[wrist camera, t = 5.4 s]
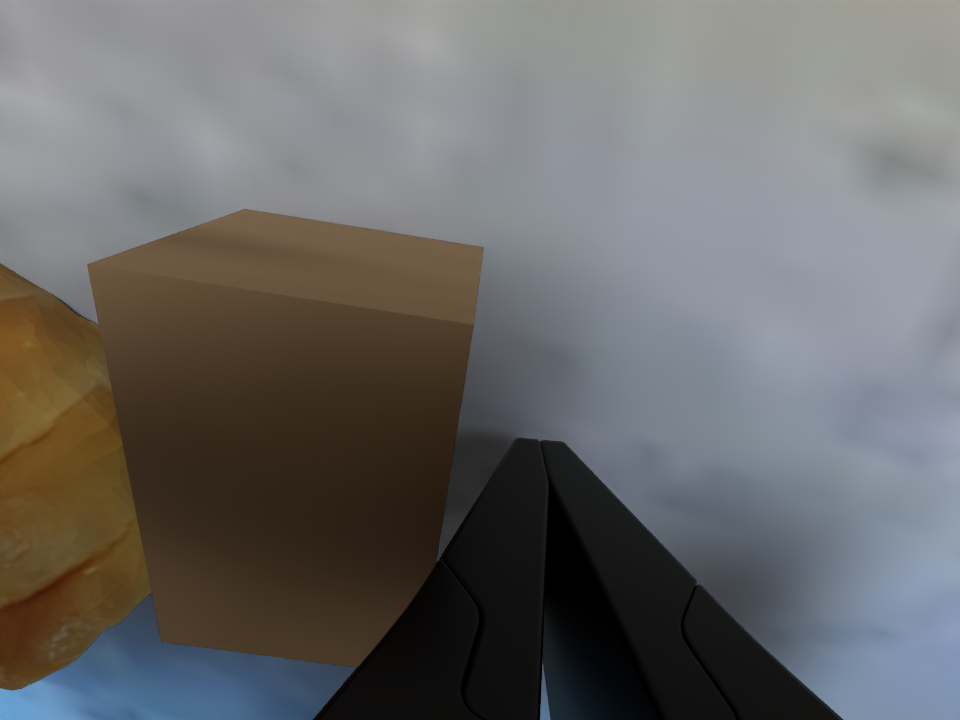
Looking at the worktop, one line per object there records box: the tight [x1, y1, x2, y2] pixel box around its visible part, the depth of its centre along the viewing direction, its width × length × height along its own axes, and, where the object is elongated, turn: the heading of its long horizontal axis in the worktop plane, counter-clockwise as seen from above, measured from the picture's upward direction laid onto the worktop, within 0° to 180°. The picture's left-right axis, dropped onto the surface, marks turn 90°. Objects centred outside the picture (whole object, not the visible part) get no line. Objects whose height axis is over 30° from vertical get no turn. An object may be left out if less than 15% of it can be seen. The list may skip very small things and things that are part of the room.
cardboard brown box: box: [87, 209, 484, 668], centre depth 8 cm, size 6×4×4 cm, turn 171°
